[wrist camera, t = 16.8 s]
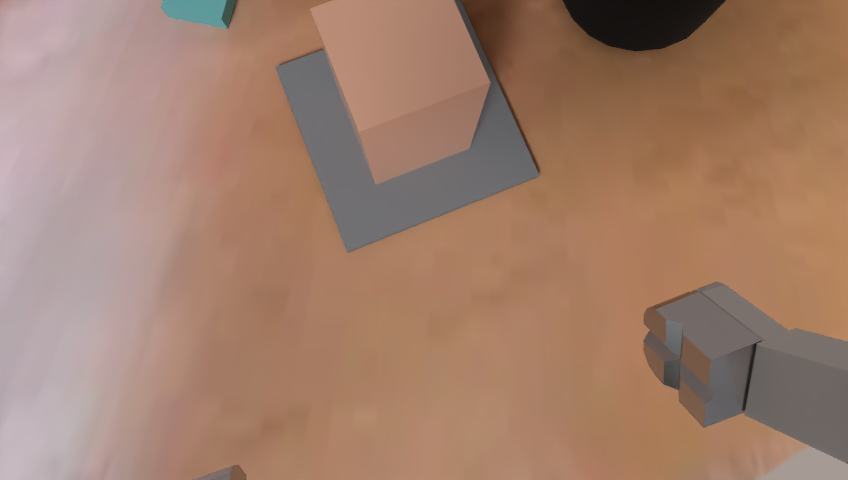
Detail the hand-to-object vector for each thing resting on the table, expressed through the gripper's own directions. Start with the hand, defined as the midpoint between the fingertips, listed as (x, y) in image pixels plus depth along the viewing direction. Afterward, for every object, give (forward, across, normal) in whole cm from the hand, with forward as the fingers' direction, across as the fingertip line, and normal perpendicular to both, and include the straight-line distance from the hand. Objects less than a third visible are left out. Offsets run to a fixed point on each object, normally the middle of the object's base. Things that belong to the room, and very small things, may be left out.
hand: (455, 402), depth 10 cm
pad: (+26, -4, +4) cm, 26 cm away
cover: (+25, -4, +3) cm, 26 cm away
